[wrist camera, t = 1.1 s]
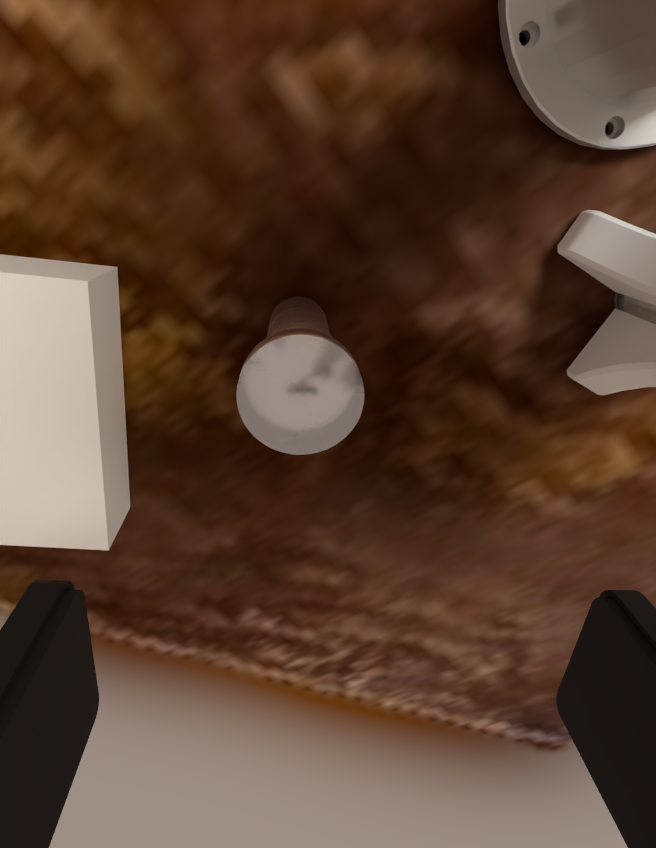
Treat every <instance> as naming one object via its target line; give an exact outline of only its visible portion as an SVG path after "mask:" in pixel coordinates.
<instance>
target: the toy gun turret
mask: <svg viewBox="0 0 656 848" xmlns="http://www.w3.org/2000/svg"><path fill="white" fill-rule="evenodd" d="M557 248H558V253H559V254H560V255H562V256H563V257H565V258H566V259H568V260H569V261H571V262H572V263H573V264H575V265H576V266H578V267H579V268H581V269H582V270H584V271H585V272H587V273H588V274H589V275H591V276H592V277H594V278H595V279H597V280H598V281H600V282H601V283H603V284H604V285H606V286H607V287H608V288H610V289H611V290H613V291H614V292H615V298H614V303H615V307H616V308H615V309H614V310H613V312H612V313H611V314H610V316H609V317H608V318H607V319H606V321H605V322H604V323H603V324H602V326H601V327H600V328H599V330H598V331H597V332H596V333H595V335H594V336H593V337H592V338H591V340H590V341H589V342H588V344H587V345H586V346H585V347H584V349H583V350H582V351H581V352H580V354H579V355H578V356H577V358H576V359H575V360H574V361H573V363H572V364H571V365H570V366H569V368H568V369H567V376H569V377H570V378H571V379H573V380H574V381H576V382H578V383H579V384H581V385H583V386H584V387H586V388H588V389H589V390H591V391H592V392H594V393H596V394H597V395H607V394H611V393H615V392H620V391H625V390H631V389H638V388H644V387H656V234H654V233H651V232H649V231H646V230H644V229H641V228H639V227H636V226H634V225H631V224H628V223H626V222H623V221H621V220H619V219H616V218H614V217H612V216H609V215H607V214H605V213H602V212H600V211H594V210H586V211H583V212H581V213H580V215H579V216H578V217H577V219H576V220H575V222H574V223H573V225H572V226H571V227H570V229H569V230H568V232H567V233H566V234H565V236H564V237H563V239H562V240H561V241H560V243H559V244H558V246H557Z"/></svg>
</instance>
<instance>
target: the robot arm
mask: <svg viewBox="0 0 656 848" xmlns="http://www.w3.org/2000/svg"><path fill="white" fill-rule="evenodd" d="M498 15H499V25H500V35H501V42H502V46H503V50H504V53H505V57H506V61H507V64H508V68H509V72H510V74H511V76H512V78H513V80H514V82H515V84H516V86H517V88H518V90H519V92H520V94H521V96H522V98H523V99H524V101H525V102H526V103H527V105H528V106H529V107H530V108H531V110H532V111H533V112H534V114H535V115H536V116H537V117H538V119H539V120H541V121H542V122H543V123H544V124H546V125H547V126H548V127H549V128H551V129H552V130H553V131H554V132H555V133H557V134H558V135H560V136H562V137H564V138H566V139H568V140H570V141H572V142H575V143H577V144H579V145H582V146H587V147H592V148H597V149H602V150H622V149H634V148H641V147H648V146H654V145H656V0H498ZM519 33H523V34H525V37H526V43H525V45H524V46H522V45H521V43H520V41H519ZM606 124H607V125H608V132H607V134H605V126H606ZM91 645H92V644H91V637H90V631H89V624H88V617H87V610H86V603H85V596H84V592H83V591H82V590H75V589H74V585H73V584H72V582H70V581H34V582H33V583H32V584H31V585H30V586H29V587H28V589H27V590H26V592H25V593H24V595H23V596H22V598H21V599H20V601H19V602H18V604H17V605H16V607H15V609H14V610H13V612H12V613H11V615H10V616H9V618H8V619H7V621H6V622H5V624H4V625H3V627H2V628H1V630H0V848H49V845H50V842H51V840H52V836H53V834H54V831H55V829H56V826H57V823H58V820H59V818H60V815H61V812H62V810H63V807H64V804H65V801H66V799H67V796H68V793H69V790H70V788H71V785H72V782H73V779H74V776H75V774H76V771H77V768H78V765H79V763H80V760H81V757H82V754H83V752H84V749H85V746H86V744H87V741H88V738H89V735H90V732H91V730H92V727H93V724H94V722H95V719H96V715H97V711H98V704H99V693H98V686H97V680H96V672H95V665H94V659H93V651H92V646H91ZM556 702H557V708H558V712H559V714H560V716H561V718H562V720H563V722H564V724H565V726H566V728H567V730H568V732H569V734H570V736H571V738H572V740H573V742H574V744H575V745H576V747H577V749H578V751H579V753H580V755H581V757H582V759H583V761H584V763H585V765H586V767H587V769H588V771H589V773H590V775H591V777H592V778H593V780H594V782H595V784H596V786H597V788H598V790H599V792H600V794H601V796H602V798H603V800H604V802H605V804H606V806H607V808H608V809H609V812H610V813H611V815H612V817H613V819H614V821H615V823H616V825H617V827H618V829H619V831H620V833H621V835H622V837H623V839H624V841H625V843H626V844H627V846H628V848H656V609H655V608H654V606H653V605H652V604H651V603H650V602H649V601H648V599H647V598H646V597H645V596H644V595H643V594H641V593H640V592H638V591H630V590H605V591H604V592H602V593H601V595H600V596H599V598H596V599H594V601H593V602H592V604H591V607H590V609H589V612H588V615H587V617H586V620H585V622H584V625H583V628H582V630H581V633H580V635H579V638H578V641H577V643H576V646H575V648H574V651H573V653H572V656H571V659H570V661H569V664H568V666H567V669H566V672H565V674H564V677H563V679H562V682H561V685H560V687H559V690H558V692H557V698H556Z"/></svg>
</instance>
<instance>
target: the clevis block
mask: <svg viewBox="0 0 656 848" xmlns="http://www.w3.org/2000/svg"><path fill="white" fill-rule="evenodd" d="M129 509H130V491H129V473H128V454H127V435H126V417H125V398H124V380H123V361H122V343H121V324H120V306H119V287H118V269H117V267H114V266H104V265H95V264H86V263H76V262H67V261H58V260H48V259H39V258H30V257H20V256H11V255H2V254H0V545H12V546H32V547H51V548H71V549H90V550H109V549H110V547H111V545H112V543H113V541H114V539H115V537H116V535H117V533H118V531H119V529H120V527H121V525H122V523H123V521H124V519H125V517H126V515H127V513H128V511H129Z"/></svg>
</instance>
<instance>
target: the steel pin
mask: <svg viewBox="0 0 656 848" xmlns="http://www.w3.org/2000/svg"><path fill="white" fill-rule="evenodd" d="M236 397H237V406H238V410H239V414H240V416H241V419H242V421H243V423H244V424H245V426H246V427H247V429H248V430H249V431H250V433H251V434H252V435H253V436H254V437H255V438H256V439H258V440H259V441H260V442H262V443H263V444H264V445H266V446H268V447H270V448H272V449H274V450H277V451H279V452H283V453H287V454H295V455H305V454H313V453H317V452H321V451H324V450H327V449H329V448H331V447H333V446H334V445H336V444H338V443H339V442H341V441H342V440H343V439H344V438H345V437H346V436H347V435H348V434H349V433H350V432H351V431H352V430H353V428H354V427H355V425H356V424H357V422H358V420H359V418H360V415H361V413H362V409H363V405H364V386H363V381H362V378H361V375H360V372H359V369H358V367H357V364H356V362H355V360H354V358H353V356H352V355H351V353H350V352H349V351H348V350H347V349H346V347H345V346H344V345H343V344H341V343H340V342H339V341H338V340H336V339H335V338H333V337H331V336H330V332H329V327H328V323H327V319H326V316H325V313H324V311H323V310H322V308H321V307H320V306H319V305H318V304H317V303H316V302H314V301H313V300H311V299H309V298H306V297H299V296H297V297H290V298H287V299H285V300H283V301H282V302H280V303H279V304H278V305H277V306H276V307H275V309H274V310H273V312H272V314H271V317H270V322H269V328H268V333H267V338H265V339H264V340H263V341H261V342H260V343H259V344H258V345H257V346H256V347H254V349H253V350H252V351H251V352H250V354H249V355H248V357H247V358H246V360H245V362H244V364H243V367H242V370H241V373H240V377H239V381H238V385H237V392H236Z"/></svg>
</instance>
